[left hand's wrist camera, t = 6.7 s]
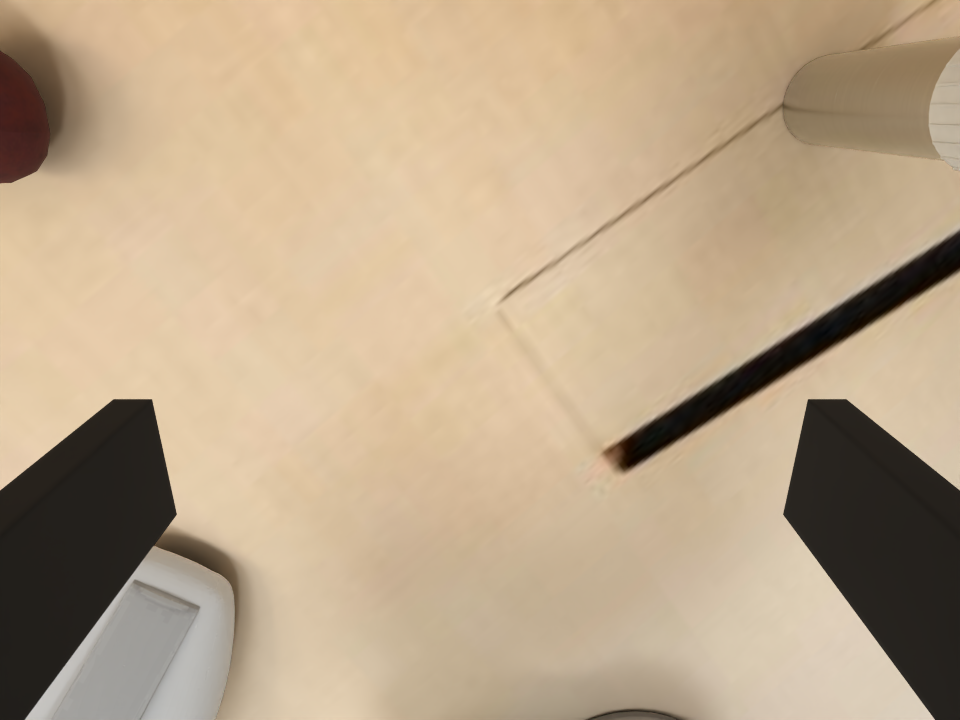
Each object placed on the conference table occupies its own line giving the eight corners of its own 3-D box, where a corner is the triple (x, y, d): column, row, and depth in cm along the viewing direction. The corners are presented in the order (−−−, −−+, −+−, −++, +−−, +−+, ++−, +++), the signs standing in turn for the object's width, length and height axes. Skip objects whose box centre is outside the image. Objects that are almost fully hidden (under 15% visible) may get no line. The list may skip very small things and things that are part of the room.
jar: (802, 161, 38) (999, 196, 23) (769, 87, 36) (957, 76, 22) (880, 113, 37) (1136, 119, 22) (849, 35, 35) (1102, -12, 21)
